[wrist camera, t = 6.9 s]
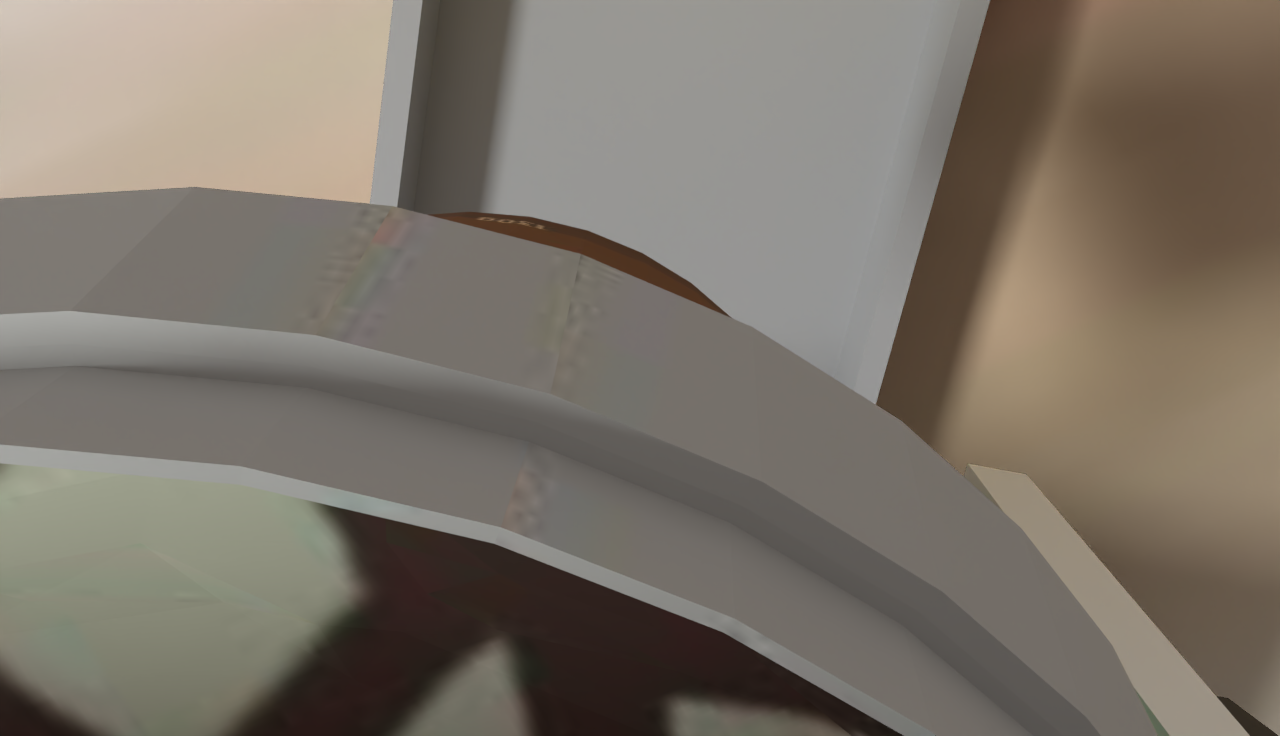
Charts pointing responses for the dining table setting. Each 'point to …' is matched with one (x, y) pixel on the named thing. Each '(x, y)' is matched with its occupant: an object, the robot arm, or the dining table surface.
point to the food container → (475, 498)
